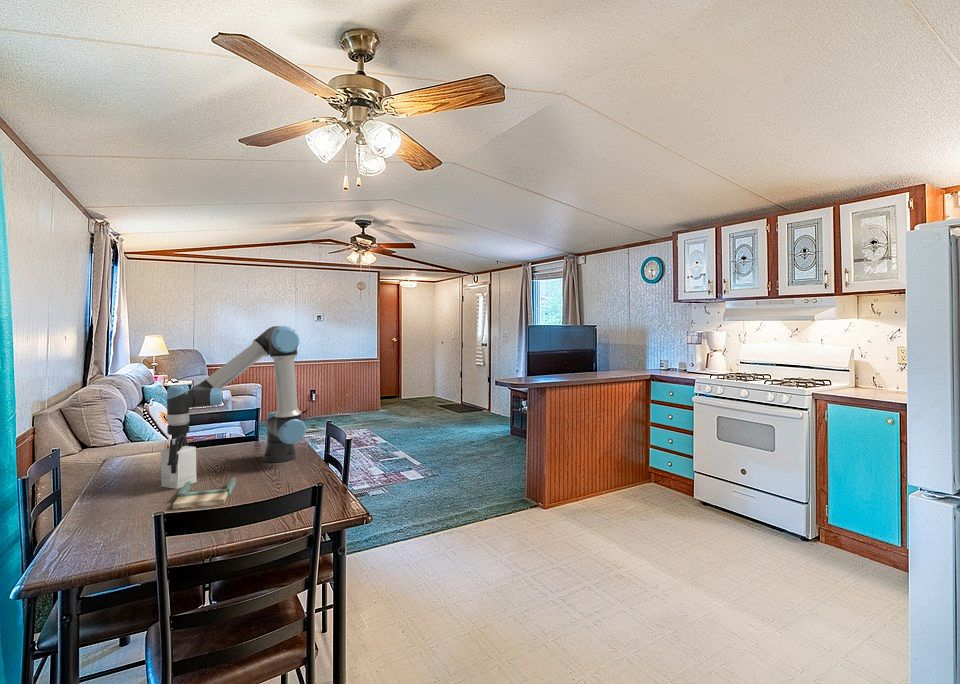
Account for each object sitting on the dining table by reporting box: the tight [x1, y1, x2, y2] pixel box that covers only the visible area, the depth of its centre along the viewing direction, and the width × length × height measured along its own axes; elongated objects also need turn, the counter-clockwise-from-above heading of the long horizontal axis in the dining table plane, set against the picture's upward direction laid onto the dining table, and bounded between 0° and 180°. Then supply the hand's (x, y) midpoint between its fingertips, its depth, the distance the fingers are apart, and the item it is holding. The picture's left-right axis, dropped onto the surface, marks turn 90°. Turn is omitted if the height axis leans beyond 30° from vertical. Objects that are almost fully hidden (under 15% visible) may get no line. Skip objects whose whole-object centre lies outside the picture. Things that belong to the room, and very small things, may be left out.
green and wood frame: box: [172, 476, 237, 510], centre depth 178 cm, size 17×22×3 cm
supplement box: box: [160, 445, 197, 490], centre depth 190 cm, size 9×9×15 cm
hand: (179, 475), depth 190 cm, fingers open, 12 cm apart
